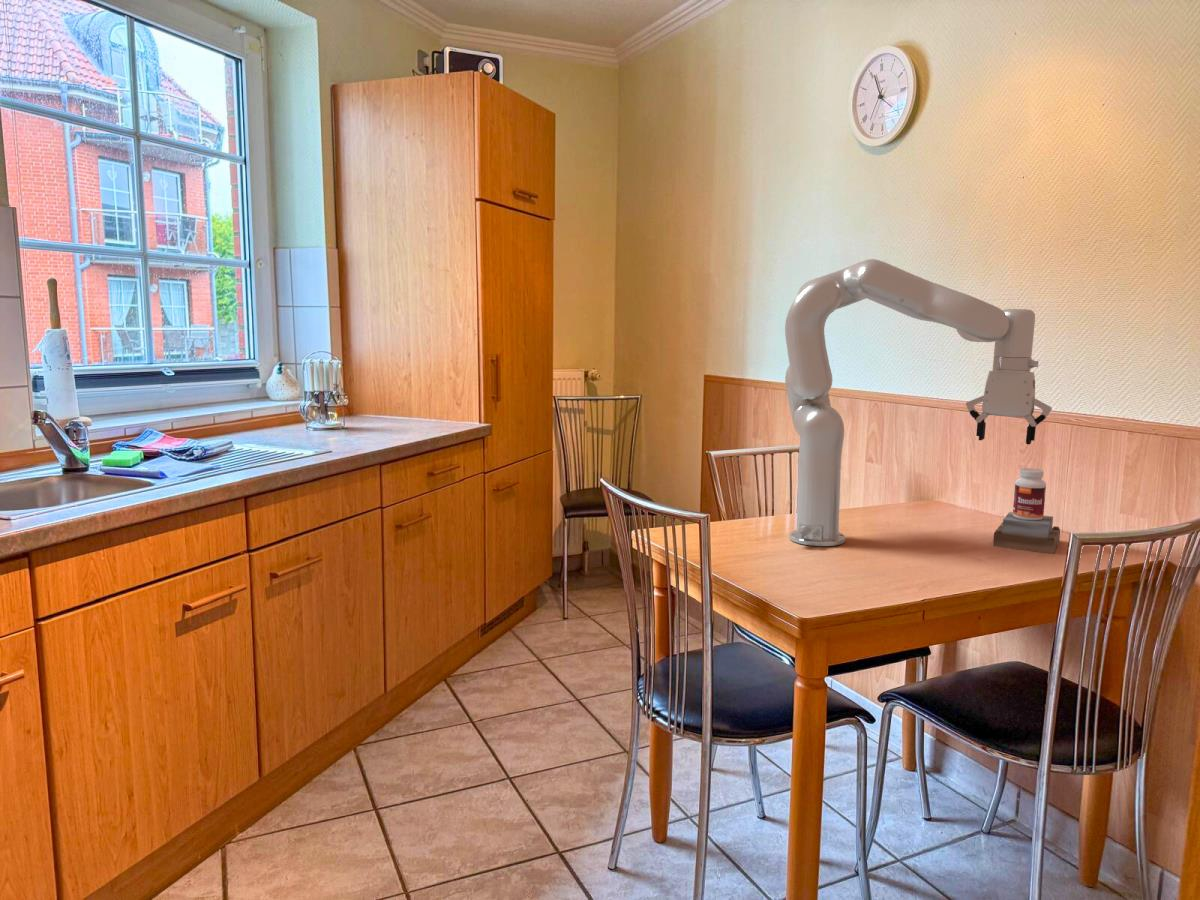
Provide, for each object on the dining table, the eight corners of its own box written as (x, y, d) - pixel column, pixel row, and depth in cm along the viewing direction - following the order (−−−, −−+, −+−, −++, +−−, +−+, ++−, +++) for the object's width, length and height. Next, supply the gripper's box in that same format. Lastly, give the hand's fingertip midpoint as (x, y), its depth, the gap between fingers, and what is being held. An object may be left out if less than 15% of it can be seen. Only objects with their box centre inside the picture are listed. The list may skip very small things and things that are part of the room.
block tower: (1053, 553, 177) (1055, 526, 176) (993, 545, 184) (994, 519, 183) (1059, 541, 187) (1061, 516, 186) (1001, 534, 194) (1003, 509, 193)
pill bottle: (1013, 520, 183) (1017, 471, 181) (1011, 514, 188) (1014, 467, 187) (1045, 522, 181) (1048, 473, 179) (1041, 516, 186) (1045, 468, 185)
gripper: (1057, 366, 179) (1050, 443, 182) (973, 363, 189) (966, 436, 192) (1053, 367, 173) (1045, 447, 176) (966, 364, 183) (960, 440, 186)
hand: (1004, 441), depth 184 cm, fingers open, 9 cm apart
